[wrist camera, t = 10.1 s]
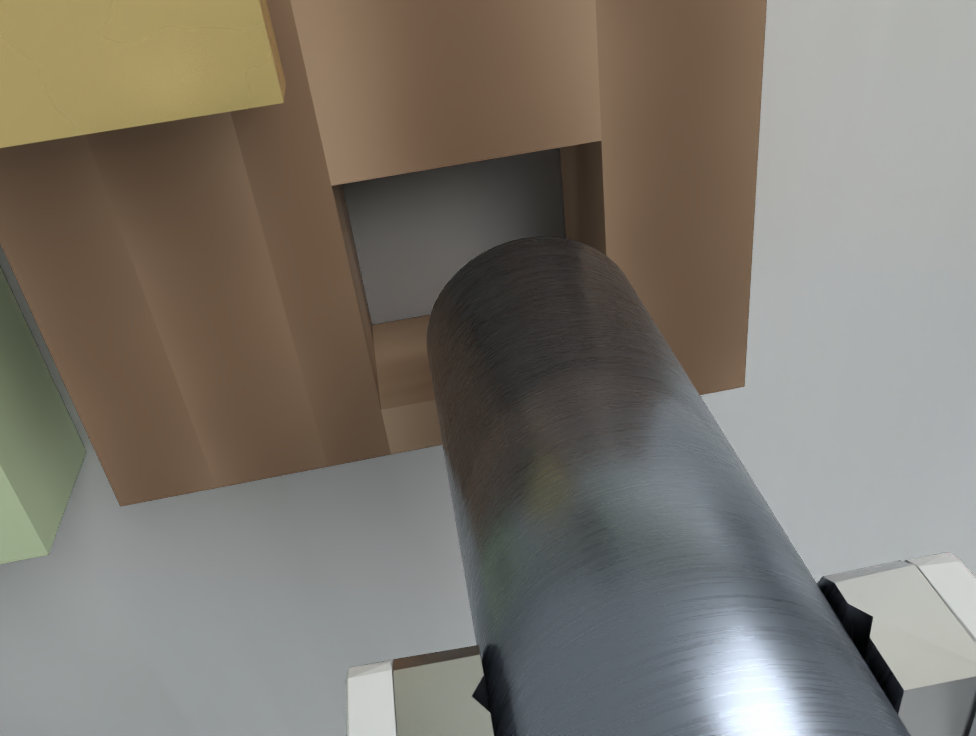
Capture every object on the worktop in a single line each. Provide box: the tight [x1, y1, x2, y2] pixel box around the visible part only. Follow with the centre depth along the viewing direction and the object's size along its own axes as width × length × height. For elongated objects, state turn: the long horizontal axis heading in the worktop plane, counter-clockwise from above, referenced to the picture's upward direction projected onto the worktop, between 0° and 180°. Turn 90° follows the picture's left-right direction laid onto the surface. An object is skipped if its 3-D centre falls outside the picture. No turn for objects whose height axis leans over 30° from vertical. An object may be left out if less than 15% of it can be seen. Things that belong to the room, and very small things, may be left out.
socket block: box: [0, 0, 767, 506], centre depth 18 cm, size 15×15×4 cm
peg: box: [426, 237, 911, 736], centre depth 11 cm, size 4×4×12 cm
